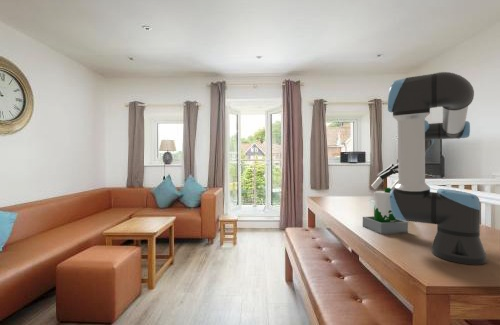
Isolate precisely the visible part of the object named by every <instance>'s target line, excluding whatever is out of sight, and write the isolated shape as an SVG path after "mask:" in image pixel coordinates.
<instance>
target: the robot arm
mask: <svg viewBox="0 0 500 325" xmlns="http://www.w3.org/2000/svg"><path fill="white" fill-rule="evenodd" d="M387 96H388V97H387V111H388V113H392V118H394V119H395V120H396V121H397V163H395V164H393V163H391V164H389V165H388V167H386V168H385V169H383V170H382V171H380V172H379V173H377V174H376V176H377V179H375V180H374V182H373V183H372V184H371V187H372V189H374V190H376V189H377V188H379V186H380V185H381V184H382V183H383V182H384V180H385V179H386V178H388V177H390V176H391V175H392V176H393V175H396V174H397V175H398V178H397V179H396V181H395V182H394V183H393V184H392V185H391V186H390V187H389V188H390V189H391V191H390V206H391V211H392V214H393V216H394V217H395V218H396V219H399V220H402V221H406V222H413V223H422V224H431V225H436V226H437V227H436V228H437V229H436V230H437V231H436V234H435V237H434V239H433V242H432V244H431V247H430V250H431V254H432V255H433V256H435V257H437V258H440V259H442V260H444V261H445V260H446V261H450V262H453V263H458V264H464V265H474V266H476V265H477V266H478V265H484V264H487V253H486V252H485V248H484V245H483V244H482V240H481V238H480V236H481V235H480V234H481V230H480V228H481V227H480V225H481V224H480V220H481V219H480V218H481V217H480V216H481V214H480V212H481V210H482V208H481V205H480V197H478V195H476V194H473V193H470V192H466V191H462V190H461V191H460V190H455V189H449V188H447V189H445V188H438V189H437V190H436V192H431V187H430V186H429V185H428V184H427V183H426V152H428V151H429V149H430V148H432V146H433V144H434V143H435V140H448V139H449V140H450V139H451V140H453V139H458V140H459V139H465V138H469V137H470V133H471V123H470V122H469V121H468V120H467V115H468V114H467V113H468V109H469V106H470V105H471V104H472V102H473V100H474V96H475V90H474V87H473V85H472V84H471V82H470V81H469V80H468V79H467V78H465V77H463V76H462V75H461V74H460V75H459V74H457V73H454V72H447V71H441V72H440V71H439V72H436V73H435V72H434V73H430V74H423V75H417V76H409V77H405V78H400V79H397V80H394V81H393V82H392V83H391V85H390V87H389V90H388V95H387ZM441 107H442V122H433V123H429V122H428V121H427V120H426V118H427V116H428V115H430V114H431V109H432V108H441Z"/></svg>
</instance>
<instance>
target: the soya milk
mask: <svg viewBox="0 0 500 325" xmlns="http://www.w3.org/2000/svg"><path fill="white" fill-rule="evenodd" d="M390 188H391V187H384V190H377V191H373V216H374V220H375V221H378V222H381V223H388V222H395V221H396V218H395V217H394V216H393V214H392V211H391V206H390V191H391V189H390Z"/></svg>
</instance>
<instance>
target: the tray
mask: <svg viewBox="0 0 500 325" xmlns="http://www.w3.org/2000/svg"><path fill="white" fill-rule="evenodd" d="M408 225H409V221H405V220H399V219H396V221H395V222H388V223H381V222H378V221H375V220H374V215H372V216H370V215H369V216H362V228H366V229H367V230H370V231H372V232H375V233H377V234H379V233H380V234H379V235H391V234H407V233H409V229H408V228H409V226H408Z"/></svg>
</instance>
